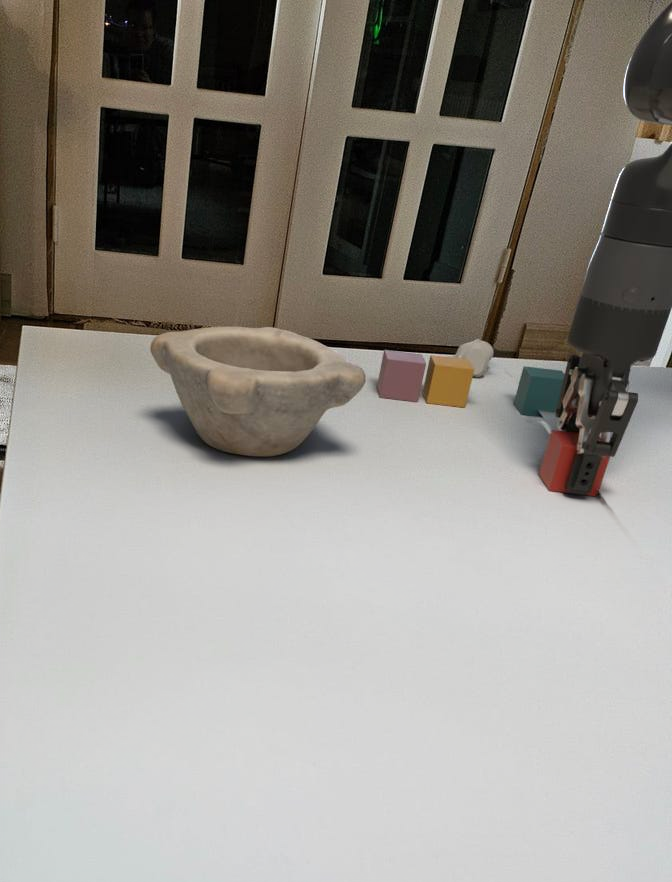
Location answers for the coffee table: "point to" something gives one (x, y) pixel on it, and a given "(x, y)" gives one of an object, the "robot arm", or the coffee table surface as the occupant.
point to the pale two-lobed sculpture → (476, 355)
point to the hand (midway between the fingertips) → (568, 480)
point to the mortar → (255, 385)
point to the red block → (565, 462)
